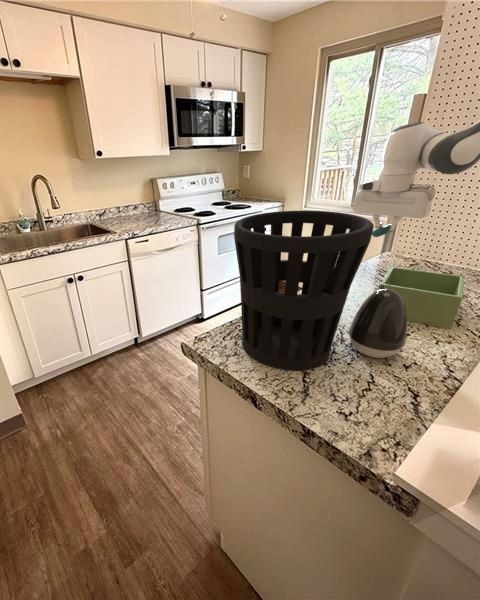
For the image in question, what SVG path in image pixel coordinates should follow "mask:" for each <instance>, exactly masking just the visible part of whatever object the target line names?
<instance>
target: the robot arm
mask: <svg viewBox="0 0 480 600" xmlns="http://www.w3.org/2000/svg"><path fill="white" fill-rule="evenodd" d="M381 158H382V159H381V160H382V166H381V169H380V171H379V173H378V177H377V178H375V179H374V178H373V179H372V180H369V181H365V182H362V183H360V184H359V186H358V190H359V191H358V192H357V193H356V195H355V197H354V200H353V204H352V211H353V212H354V213H356V214H367V215H372V219H373V223H374V227H373V229H378V228H381V227H383V225H384V222H382V221H381V220H380V217H382V216H390V217H393V220H394V221H393V222H392V223H388V224H387V225H388V226H387V225H386V226H387V227H388V228H387V230H394V229H395V227H396V225H397V224H398V223H399V222H401V220H402V219H403V218H411V219H424V218H426V217H428V216H429V215H430V214H431V210H432V203H433V200H434V198H435V195H436V188H435V187H434V186H432V185H431V184H415V178H416V175H417V171H418V170H419V169H423V170H428V171H434V172H438V173H440V174H443V175H456V174H460V173H463V172H465V171H467V170H469V169H470V168H472V167H473V166H475V165H476V164H477V163H478V162H479V161H480V119H479V120H478V121H476V122H475V123H474V124H473V125H471V126H469V127H467V128H465V129H461V130H459V131H456V132H454V131H453V132H446V131H442V130H439V129H436V128H433V127H431V126H430V125H428V124H427V123H426V122H424V121H417V122H412V123H408V124H404V125H401V126H398V127H396V128H394V129H392V131H390V133H389V135H388V138H387V139H386V143H385V146H384V150H383V153H382V157H381ZM395 230H396V229H395ZM395 230H394V231H395Z"/></svg>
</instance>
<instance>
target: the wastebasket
mask: <svg viewBox="0 0 480 600" xmlns="http://www.w3.org/2000/svg"><path fill="white" fill-rule="evenodd" d="M284 224H291V230H290V231H291V232H290V235H283V229H284ZM304 224H312V229H311V234H310V236H309V235H308V236H303V229H304ZM266 226H270V234H269V233H268V234H267V233H266ZM327 226H332V228H331V231H330V232H331V233H330V235H325V231H326V227H327ZM233 227H234V228H233V239H234V247H235V252H236V259H237V265H238V273H239V287H240V307H241V309H240V310H241V328H242V329H241V331H242V333H241V345H242V348H243V350H244V351H245V353H246V354H247V355H248V356H249V357H250V358H251V359H253V360H255V361H256V362H258V363H260V364H262V365H264V366H267V367H270V368H274V369H277V370H283V371H291V372H303V371H309V370H315V369H317V368H320V367H322V366H323V365H324V364H326V363H327V362H328V360H330V359H329V358H330V355H331V350H332V345H333V342H334V338H335V336H336V332H337V329H338V326H339V323H340V321H341V317H342V314H343V311H344V308H345V306H346V305H345V304H346V302H347V301H346V300H347V299H348V295H349V292H350V289H351V286H352V284H353V281H354V279H355V277H356V275H357V273H358V270H359V268H360V265H361V263H362V261H363V258H364V256H365V254H366V252H367V250H368V247H369V245H370V243H371V240H372V237H373V236H372V232H373V231H374V227H375V224H374V222H372V220H369V219H368V218H366V217H363V216H359V215H355V214H351V213H346V212H338V211H329V210H282V211H281V210H280V211H271V212H264V213H257V214H252V215H249V216H244V217H241V218H240V219H238V220H237V221H236V222H235V223H234V226H233ZM347 230H349V231H348V232H347ZM282 253H285V254H287V259H282ZM305 254H307V256H306V260H304V255H305ZM280 282H285V283H284V284H285V285H284V292H279V288H280V287H279V286H280ZM300 283H301V284H302V285H301V293H300V294H298V292H299V286H300Z"/></svg>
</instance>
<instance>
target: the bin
mask: <svg viewBox="0 0 480 600" xmlns="http://www.w3.org/2000/svg"><path fill="white" fill-rule="evenodd" d="M465 278H466V276H465V275H457V274H449V273H443V272H436V271H435V272H434V271H427V270H420V269H413V268H405V267H398V266H397V267H396V266H390V268H389V269H388V270H387V272H386V274H385V276H384V277H383V279H382V280H381V282H380V283H379V285H381V284H382V285H384V286H385V289H390V290H393V291H395V292H397V293H398V294H399V295H400V296H401V298H402V299H403V302H404V304H405V308H406V314H407V321H409V322H414V323H418V324H422V325H427V326H432V327H436V328H441V329H445V330H451V328H452V326H453V323H454V321H455V318H456V316H457V313H458V310H459V308H460V306H461V303H462V300H463V296H464V287H465Z"/></svg>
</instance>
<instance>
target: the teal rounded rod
mask: <svg viewBox="0 0 480 600" xmlns="http://www.w3.org/2000/svg"><path fill="white" fill-rule="evenodd" d="M387 226H388V224H387V225H385V226H382V227H381V228H378V229H377V228H374V229H373V232H372V236H371V237H374V238H379V237H382V236H384V235H387V234H390V233H392V232H394V231H395V230H396V228H397V227H396V226H395V229H394V230H387V228H388V227H387Z"/></svg>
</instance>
